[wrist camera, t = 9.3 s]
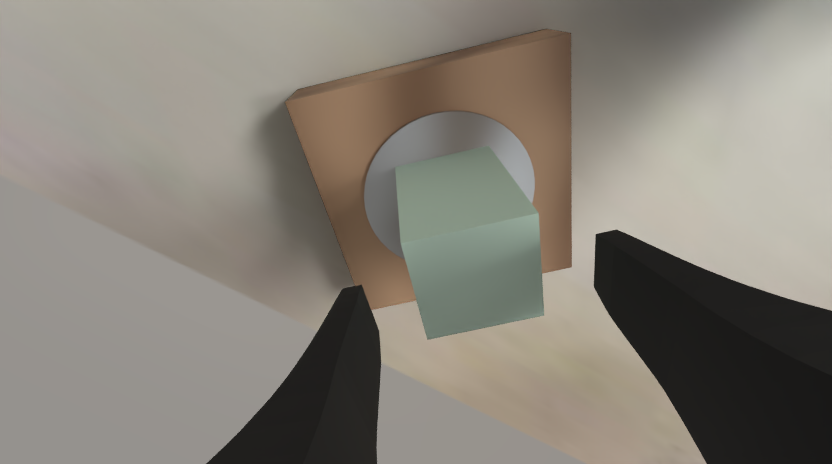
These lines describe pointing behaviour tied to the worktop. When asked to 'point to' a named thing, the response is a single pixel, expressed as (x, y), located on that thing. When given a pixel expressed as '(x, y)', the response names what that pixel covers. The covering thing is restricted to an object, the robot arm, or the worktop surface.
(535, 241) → the sage block
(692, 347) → the robot arm
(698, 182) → the worktop surface
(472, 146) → the walnut base
